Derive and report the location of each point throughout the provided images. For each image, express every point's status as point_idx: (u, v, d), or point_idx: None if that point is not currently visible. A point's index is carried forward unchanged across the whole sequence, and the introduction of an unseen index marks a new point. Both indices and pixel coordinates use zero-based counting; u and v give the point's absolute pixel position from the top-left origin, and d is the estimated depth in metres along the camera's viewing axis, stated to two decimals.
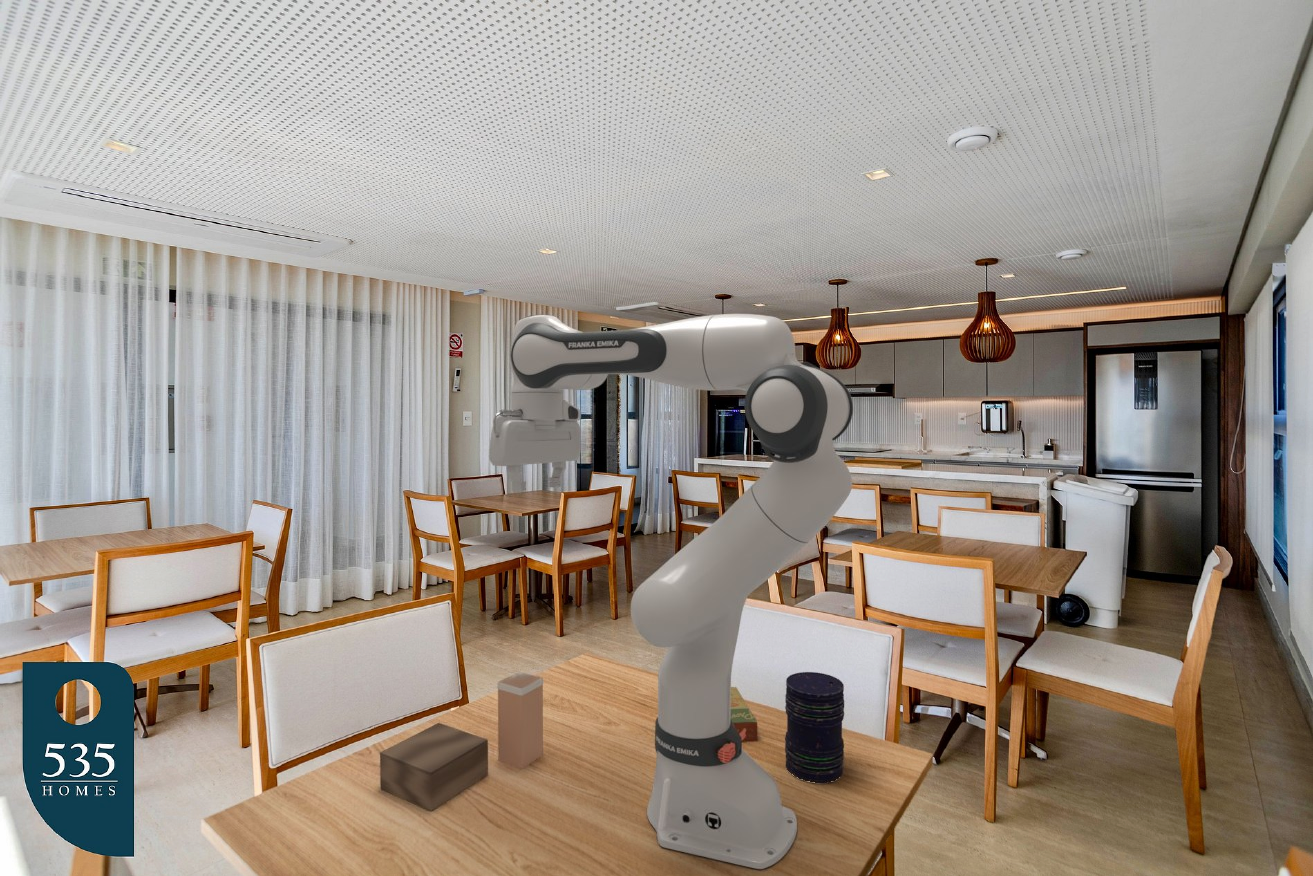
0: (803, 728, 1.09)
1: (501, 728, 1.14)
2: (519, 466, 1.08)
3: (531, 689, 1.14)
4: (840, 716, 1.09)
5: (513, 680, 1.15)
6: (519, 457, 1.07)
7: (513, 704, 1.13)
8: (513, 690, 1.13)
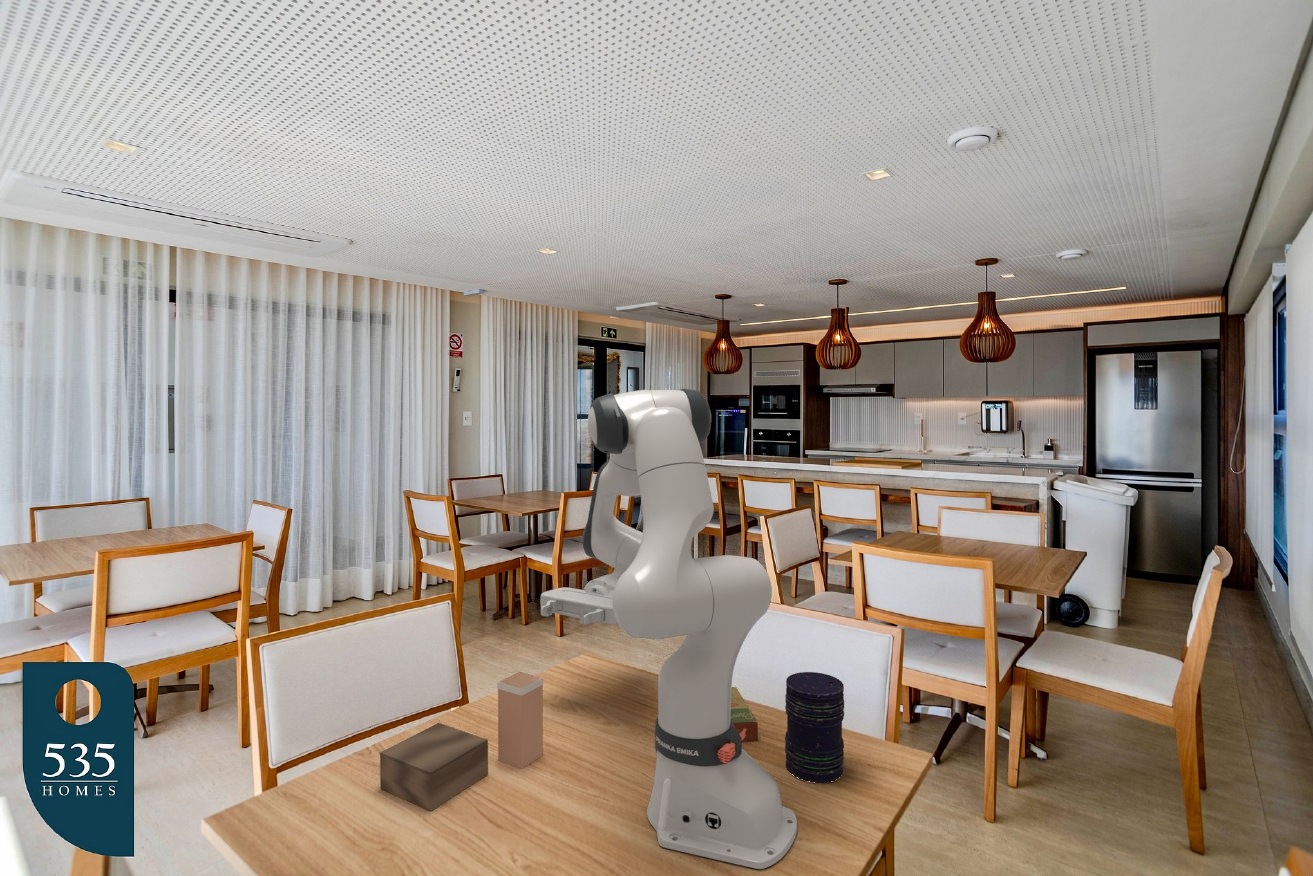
0: (803, 728, 1.09)
1: (501, 728, 1.14)
2: (553, 600, 1.32)
3: (531, 689, 1.14)
4: (840, 716, 1.09)
5: (513, 680, 1.15)
6: (555, 594, 1.34)
7: (513, 704, 1.13)
8: (513, 690, 1.13)
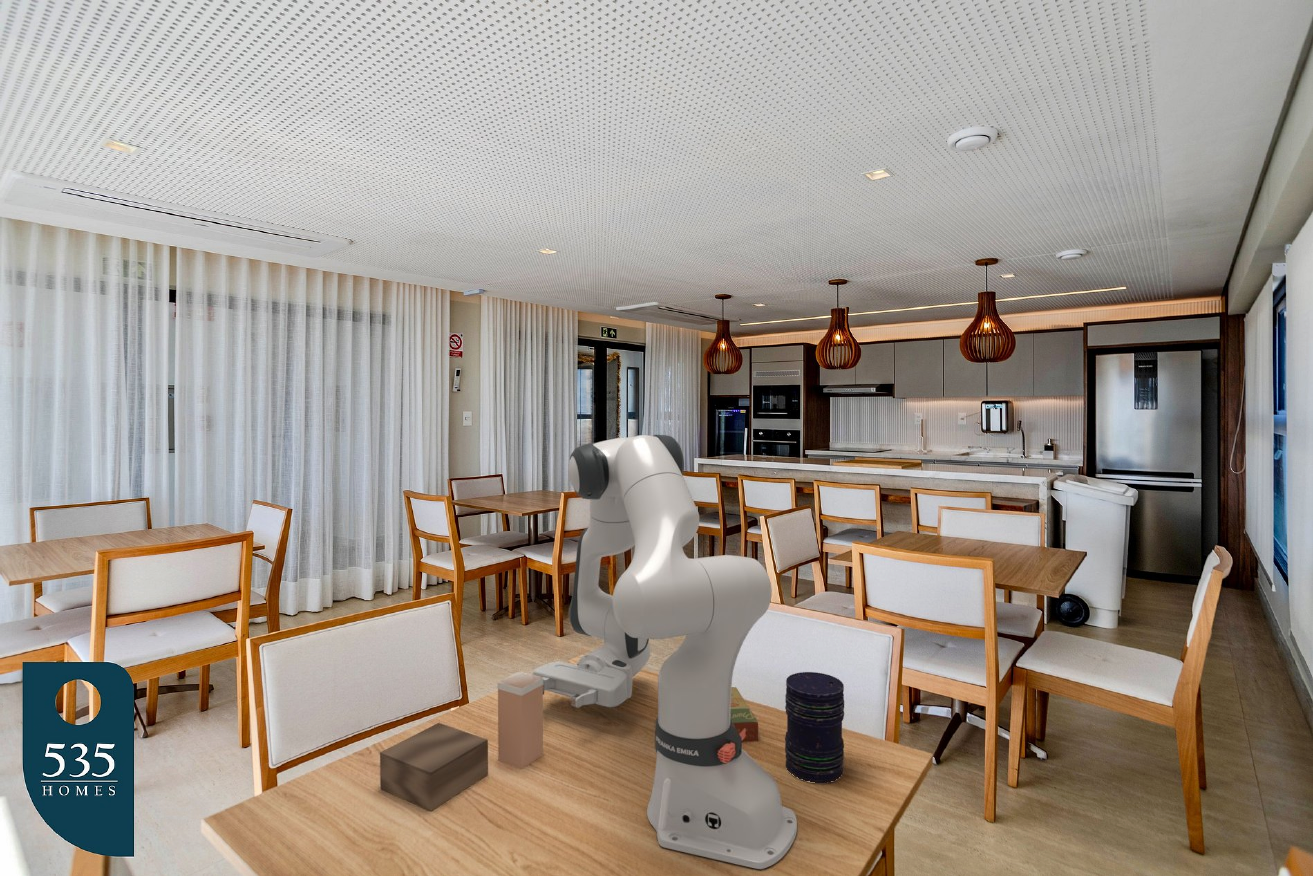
0: (803, 728, 1.09)
1: (501, 728, 1.14)
2: (546, 678, 1.30)
3: (531, 689, 1.14)
4: (840, 716, 1.09)
5: (513, 680, 1.15)
6: (548, 671, 1.32)
7: (513, 704, 1.13)
8: (513, 690, 1.13)
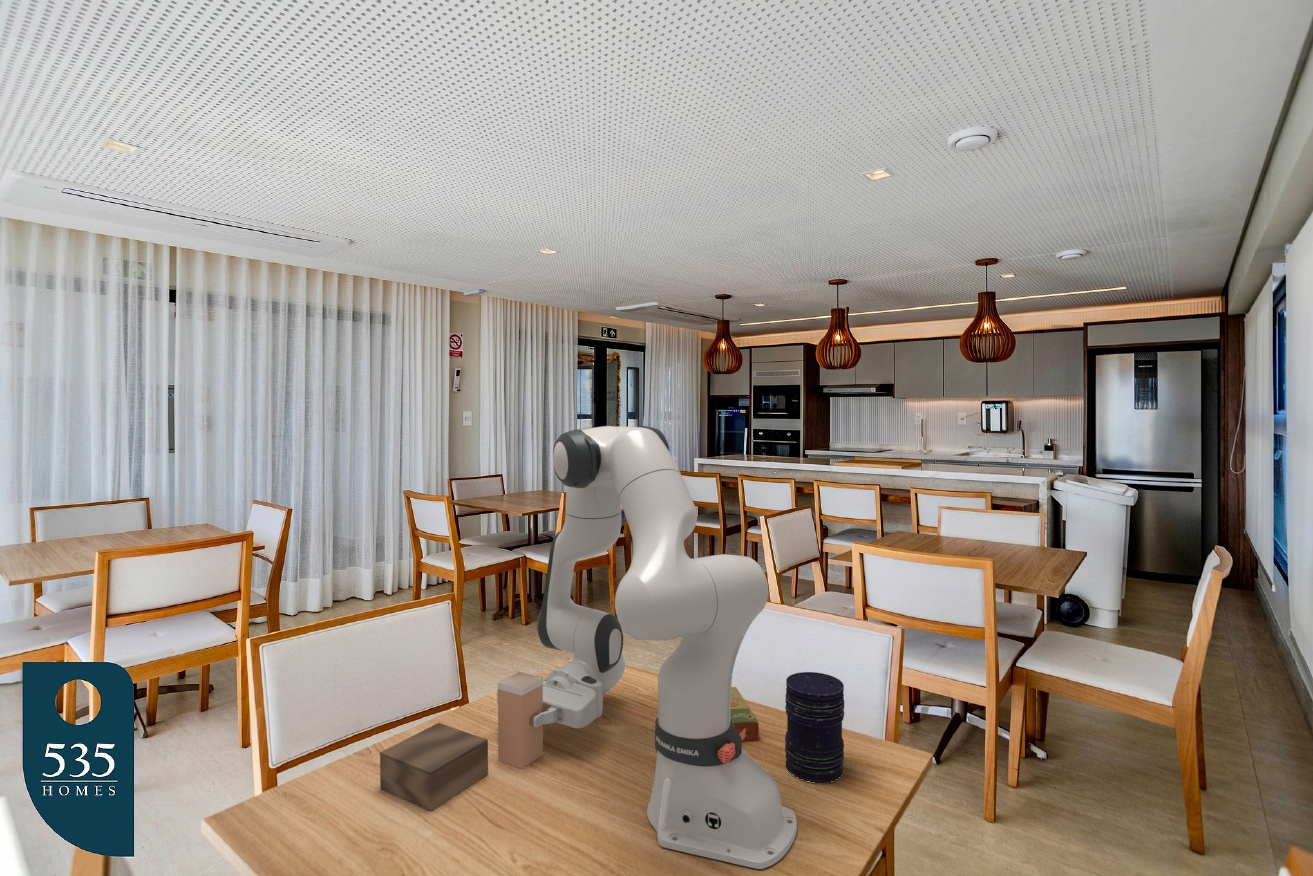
0: (803, 728, 1.09)
1: (501, 728, 1.14)
2: None
3: (531, 689, 1.14)
4: (840, 716, 1.09)
5: (513, 680, 1.15)
6: None
7: (513, 704, 1.13)
8: (513, 689, 1.13)
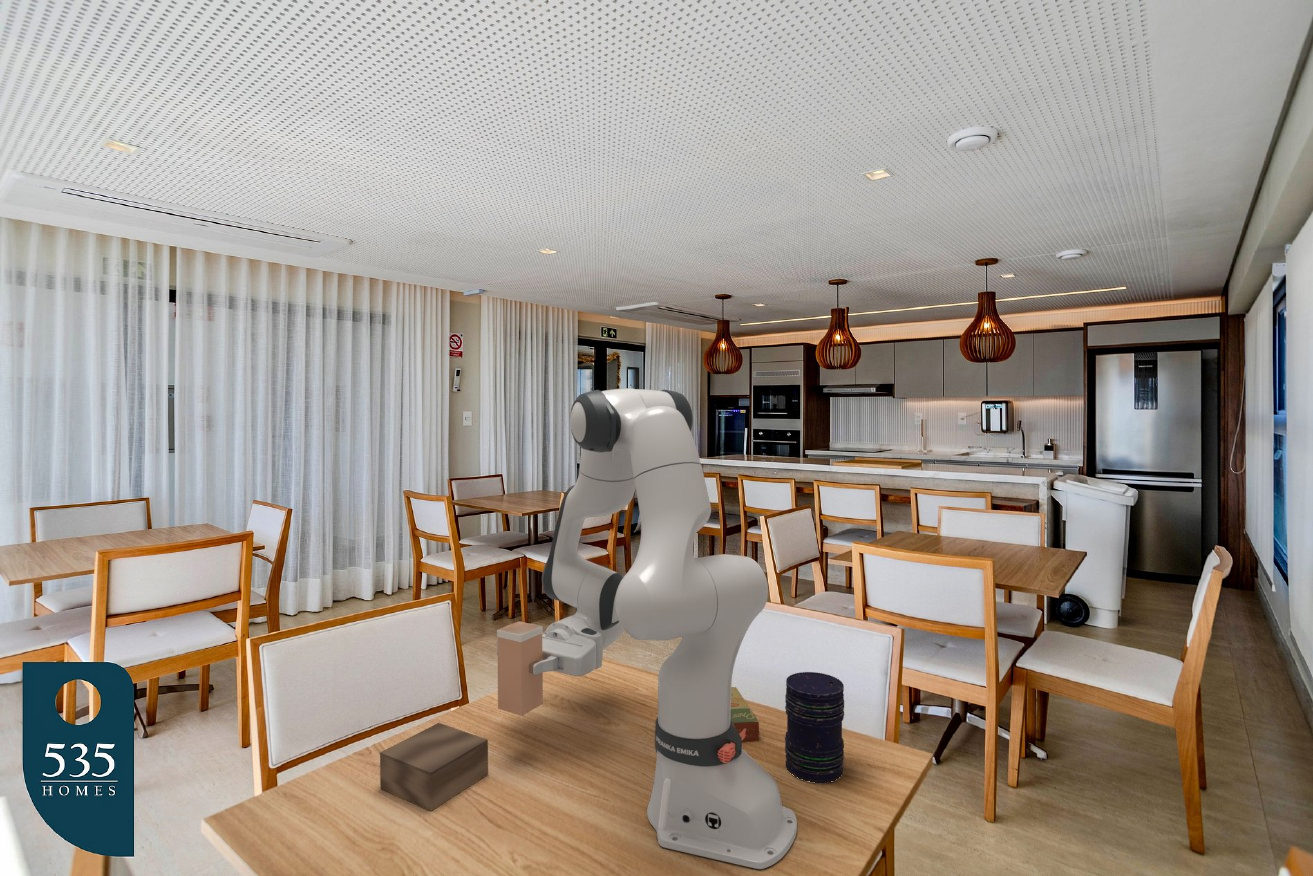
0: (803, 728, 1.09)
1: (501, 676, 1.14)
2: None
3: (531, 637, 1.14)
4: (840, 716, 1.09)
5: (513, 628, 1.15)
6: None
7: (513, 651, 1.12)
8: (512, 637, 1.12)
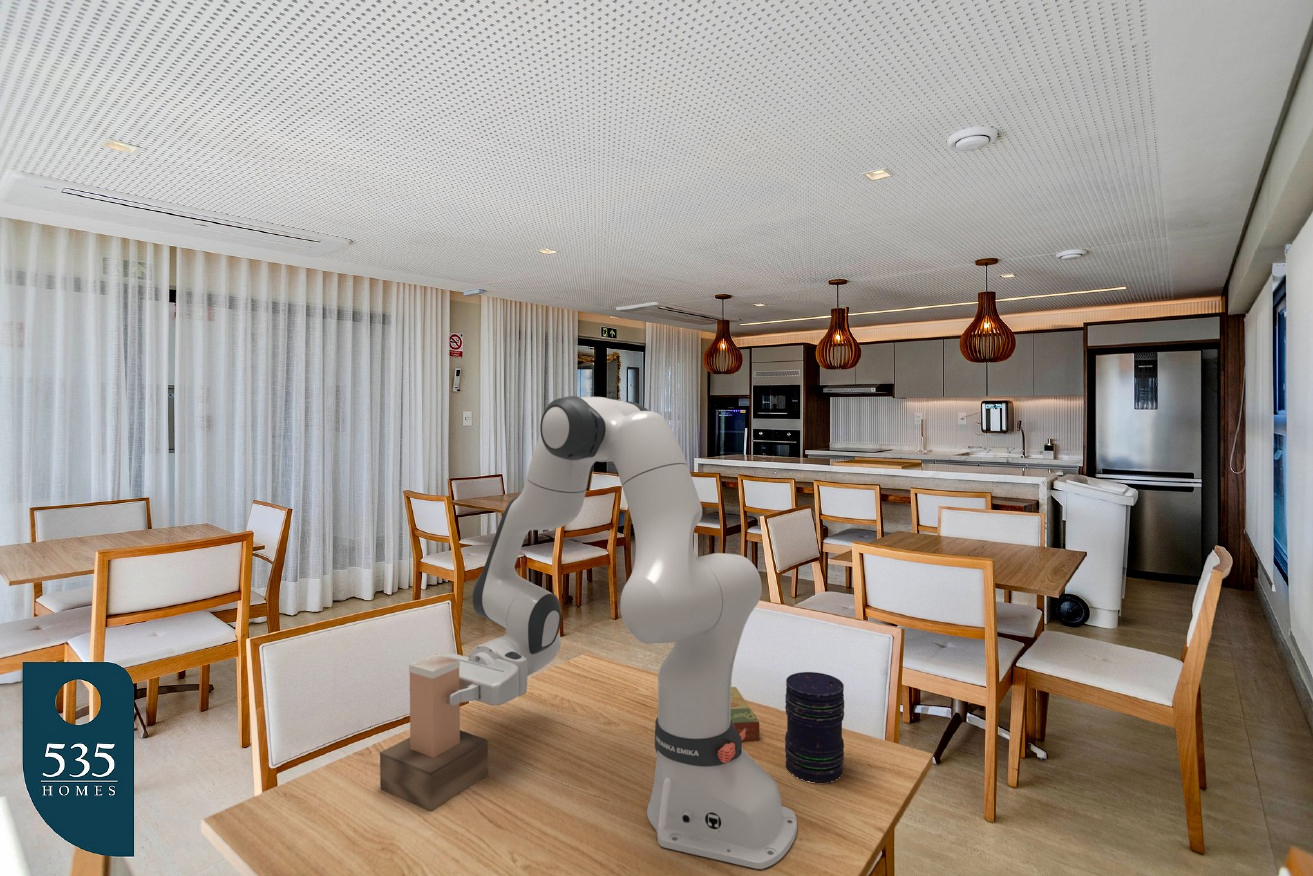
0: (803, 728, 1.09)
1: (413, 714, 1.06)
2: None
3: (445, 672, 1.06)
4: (840, 716, 1.09)
5: (427, 662, 1.07)
6: None
7: (425, 688, 1.05)
8: (424, 672, 1.05)
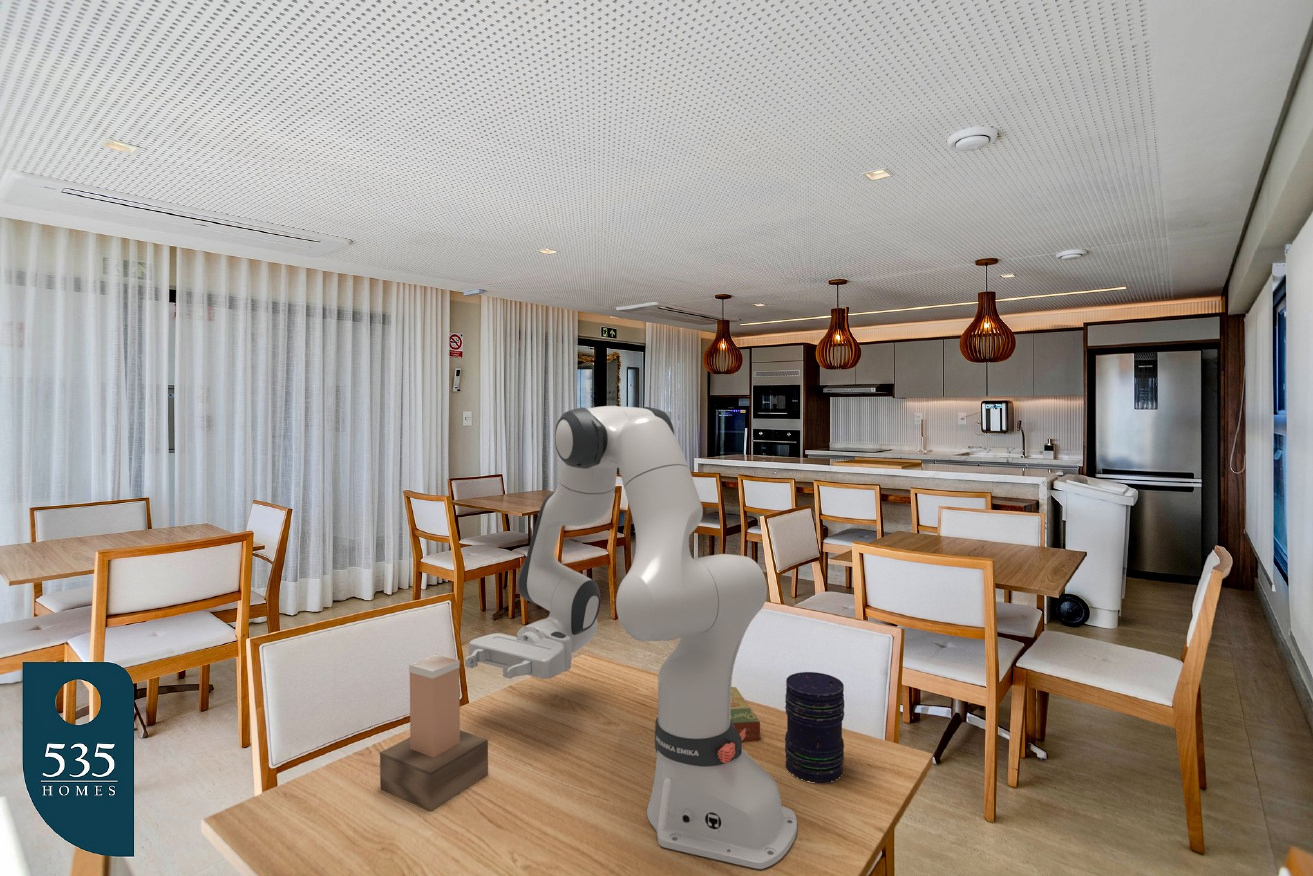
0: (803, 728, 1.09)
1: (413, 714, 1.06)
2: (481, 649, 1.25)
3: (445, 672, 1.06)
4: (840, 716, 1.09)
5: (427, 662, 1.07)
6: (484, 642, 1.26)
7: (425, 688, 1.05)
8: (424, 672, 1.05)
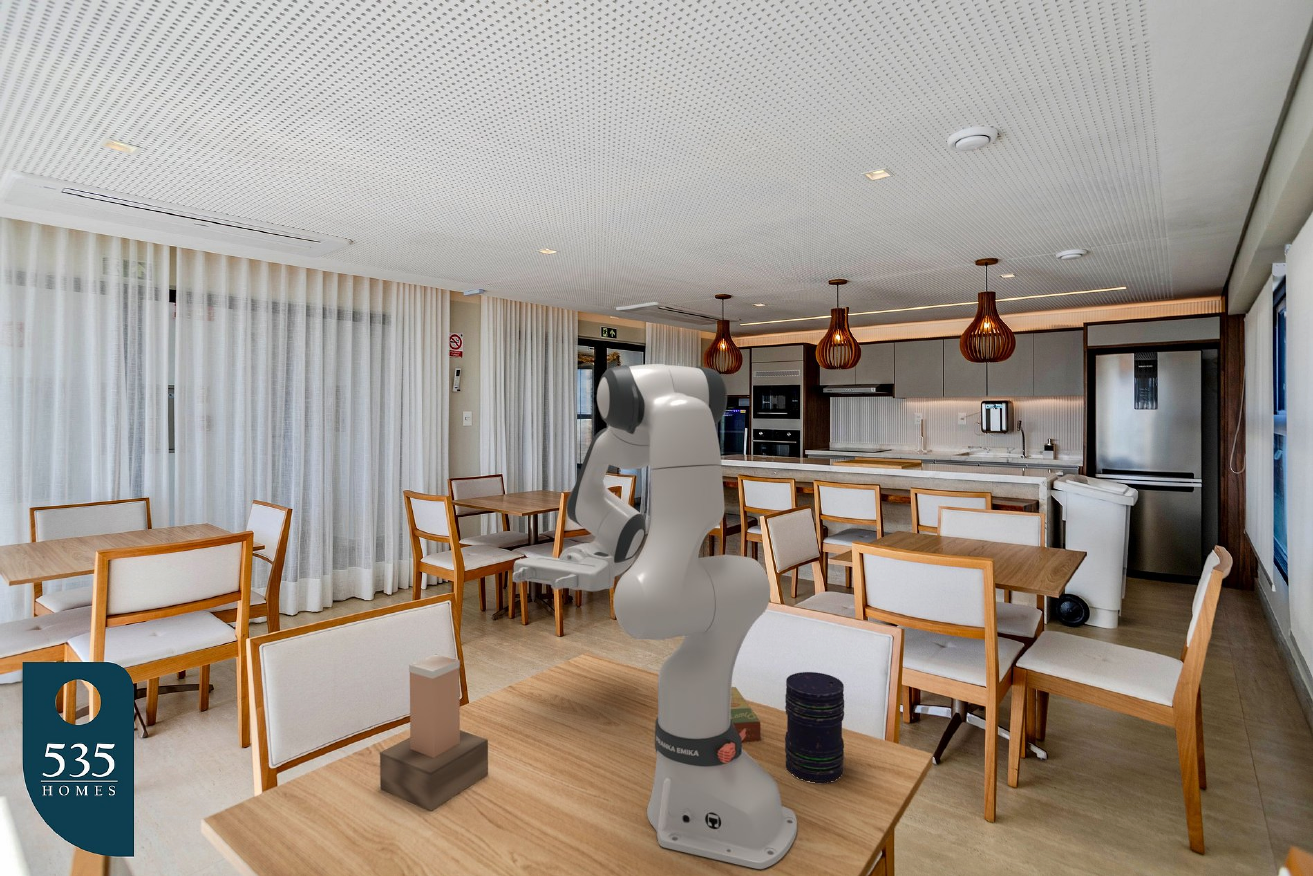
0: (803, 728, 1.09)
1: (413, 714, 1.06)
2: (527, 567, 1.28)
3: (445, 672, 1.06)
4: (840, 716, 1.09)
5: (427, 662, 1.07)
6: (529, 561, 1.30)
7: (425, 688, 1.05)
8: (424, 672, 1.05)
